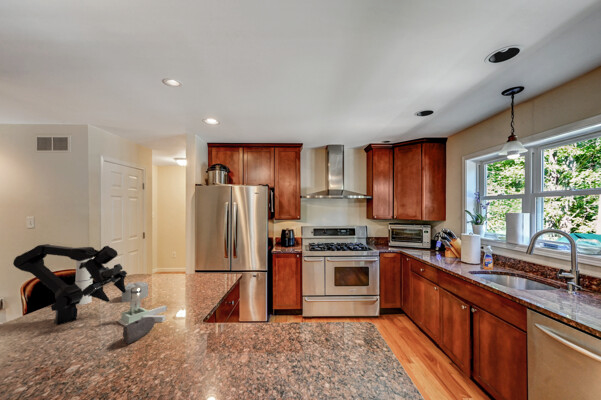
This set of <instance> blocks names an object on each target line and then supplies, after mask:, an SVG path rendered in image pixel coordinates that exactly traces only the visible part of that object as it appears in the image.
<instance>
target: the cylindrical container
mask: <svg viewBox="0 0 601 400" xmlns="http://www.w3.org/2000/svg"><path fill="white" fill-rule="evenodd" d="M93 258H95V257H93ZM93 258H91V259H93ZM88 260H89V259H87V260H83V261H76V260H75V261H76V262H75V264H76V265H75V282H74V284H76V285H77V286H78V287H79V288H81V289H82V291H83V290H84V289H85V288H86V287H87V286H89V285H90V284H93V280H94V279H93V278H92V279H90V278H89V277H90V276H91V275H90V274H89V272H88V271H87V270H86V268H82V269H79V267H80V265H81V263H83V262H86V261H88ZM89 295H90V294H89ZM92 298H93V297H92V296H89V297H88V295H87V296H84V295H83V297H82V299H81V300H80V303H79V304H76V306H83V305H86V304H89V303H90V304H91V303H92V300H93V299H92Z"/></svg>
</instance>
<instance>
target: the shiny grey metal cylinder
mask: <svg viewBox="0 0 601 400" xmlns="http://www.w3.org/2000/svg"><path fill="white" fill-rule="evenodd" d="M130 293H131V297H130V302H129V311H130V316H131V315H135V314H138V313H140V307H141V305H142V304H141V303H142V301H141V300H142V299H141V287H140V286H137V287H132V288H131V291H130Z"/></svg>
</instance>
